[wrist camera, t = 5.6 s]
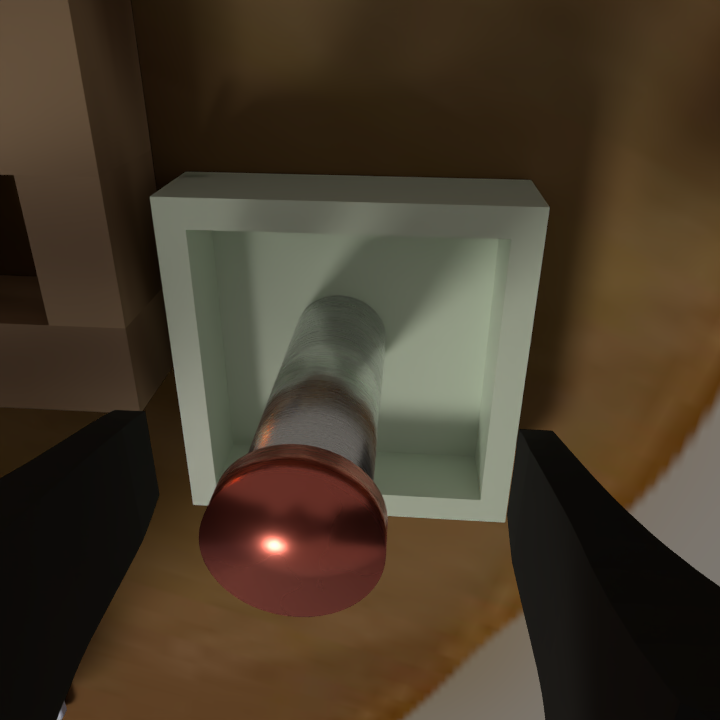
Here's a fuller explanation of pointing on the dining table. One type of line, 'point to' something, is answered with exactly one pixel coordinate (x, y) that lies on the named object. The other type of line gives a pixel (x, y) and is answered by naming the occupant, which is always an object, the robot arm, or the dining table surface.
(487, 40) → the dining table surface
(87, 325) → the block
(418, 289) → the tray
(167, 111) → the dining table surface
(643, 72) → the dining table surface
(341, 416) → the lock pin
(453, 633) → the dining table surface
